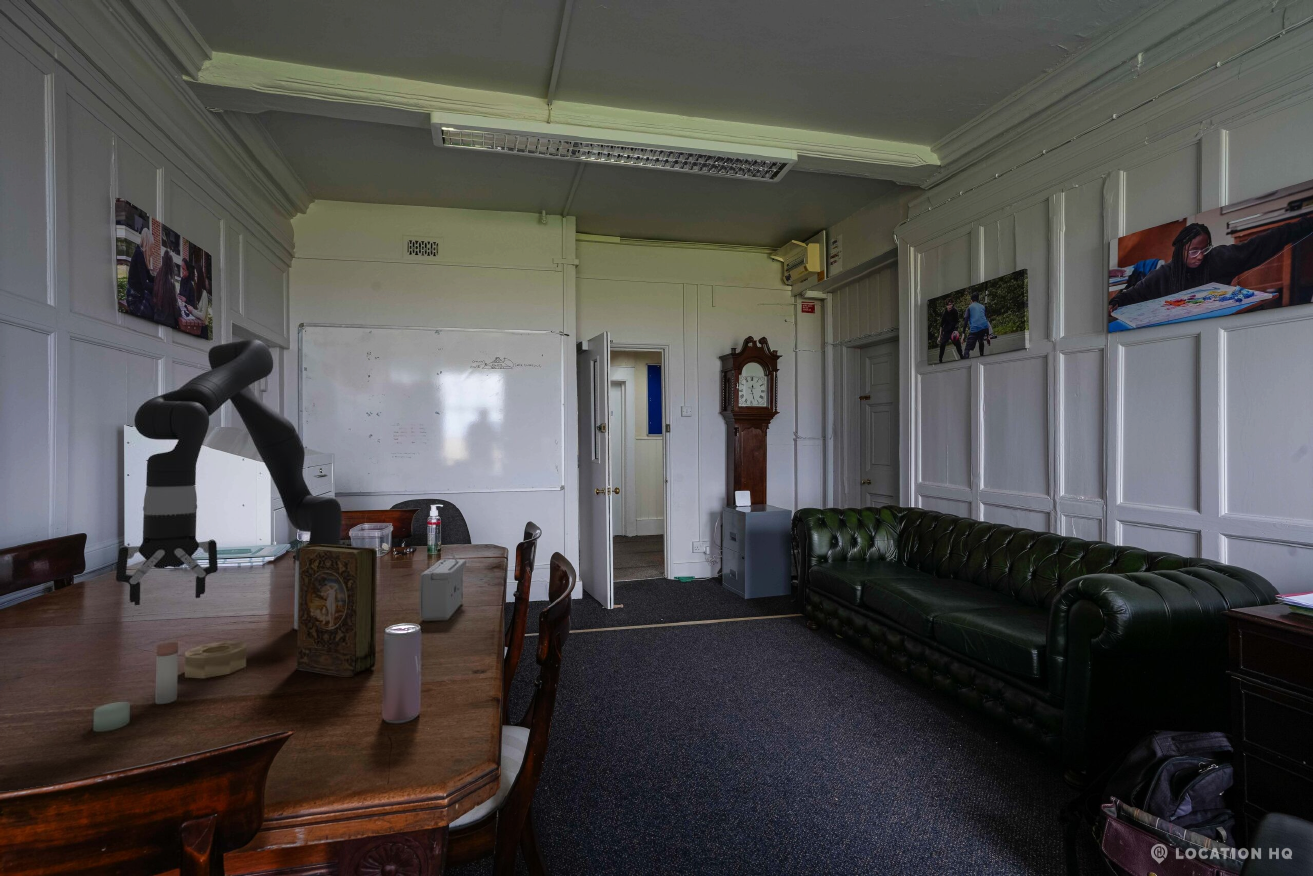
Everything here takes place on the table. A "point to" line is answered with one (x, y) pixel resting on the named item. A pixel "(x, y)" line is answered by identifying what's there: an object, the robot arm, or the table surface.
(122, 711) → the bead
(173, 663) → the grey cylinder
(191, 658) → the bead
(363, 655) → the book
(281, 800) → the table surface
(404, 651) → the beverage can
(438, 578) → the stereo radio cassette player
